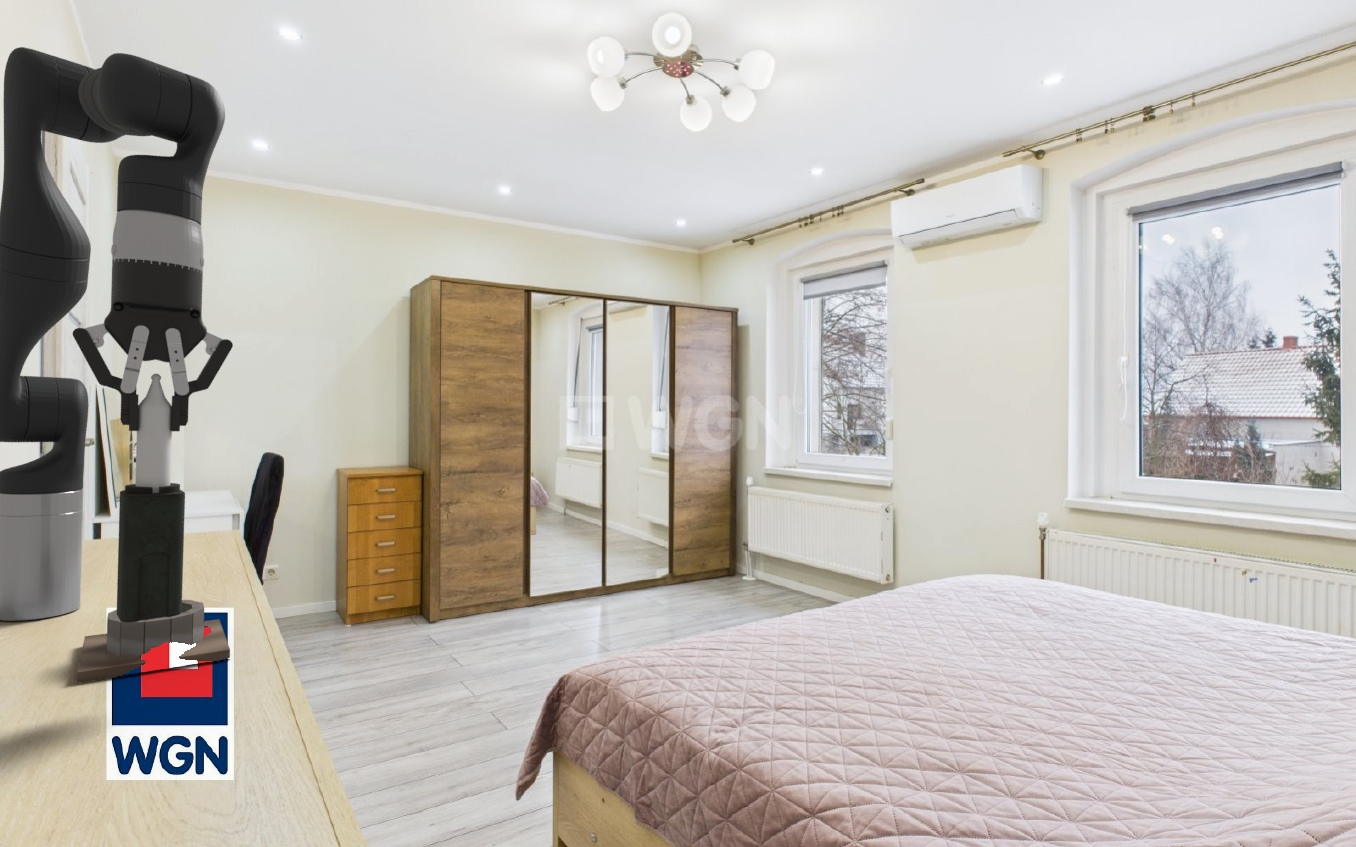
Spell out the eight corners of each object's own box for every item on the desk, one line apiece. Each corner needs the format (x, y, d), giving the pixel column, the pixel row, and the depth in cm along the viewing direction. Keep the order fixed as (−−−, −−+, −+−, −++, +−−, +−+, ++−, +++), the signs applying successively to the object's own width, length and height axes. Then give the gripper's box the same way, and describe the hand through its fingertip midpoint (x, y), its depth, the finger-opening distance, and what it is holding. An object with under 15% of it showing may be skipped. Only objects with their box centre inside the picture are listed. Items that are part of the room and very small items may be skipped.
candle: (174, 603, 77) (181, 375, 76) (183, 614, 73) (190, 375, 73) (115, 611, 73) (121, 372, 73) (121, 623, 70) (128, 371, 69)
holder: (84, 645, 87) (85, 604, 87) (219, 628, 96) (220, 590, 95) (76, 683, 76) (78, 635, 76) (229, 659, 84) (230, 616, 84)
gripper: (235, 278, 80) (230, 430, 80) (72, 257, 71) (67, 427, 71) (242, 269, 74) (237, 433, 74) (66, 246, 65) (61, 431, 65)
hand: (154, 429), depth 73 cm, fingers closed on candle, 3 cm apart
